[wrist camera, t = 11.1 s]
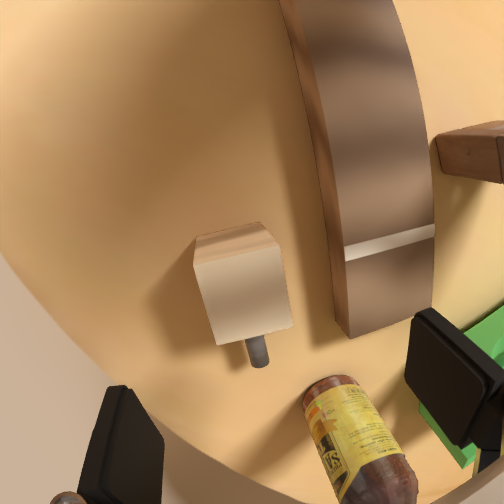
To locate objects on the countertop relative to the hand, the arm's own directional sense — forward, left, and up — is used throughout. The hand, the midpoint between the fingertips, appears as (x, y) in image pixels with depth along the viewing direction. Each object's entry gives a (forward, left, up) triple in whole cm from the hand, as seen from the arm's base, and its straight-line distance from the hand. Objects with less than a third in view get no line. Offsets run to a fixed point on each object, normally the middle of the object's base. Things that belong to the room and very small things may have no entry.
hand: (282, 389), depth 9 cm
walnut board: (-6, +11, -14) cm, 18 cm away
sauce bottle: (+17, +6, -14) cm, 22 cm away
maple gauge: (+3, 0, -14) cm, 14 cm away
